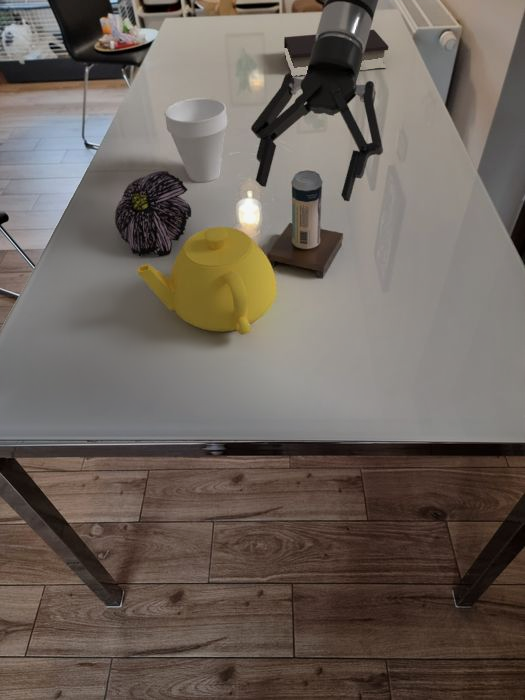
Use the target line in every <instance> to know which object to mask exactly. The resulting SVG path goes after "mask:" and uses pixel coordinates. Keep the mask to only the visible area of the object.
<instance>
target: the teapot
mask: <svg viewBox="0 0 525 700" xmlns="http://www.w3.org/2000/svg"><path fill="white" fill-rule="evenodd" d="M273 268H274V267H272V266H271V264H270V262H269V260H268V257H267V254H265V253H264V251H263V250H262V248H261V247H260V246H259V245H258V244H257V243H256V242H255V240H253V239H252V238H251V237H250V236H249V235H248V234H247V233H245V232H244V231H242V230H240V229H237V228H234V227H228V226H214V227H209V228H205V229H203V230H200V231H198V232H196V233H194V234H193V235H191V236H190V237H189V238H187V240H186V241H185V242H184V244H183V245H182V246H181V248H180V250H179V252H178V254H177V256H176V258H175V260H174V263H173V265H172V268H171V272H170V275H169V277H168V276H166V275H165V274H163V273H162V272H161V271H159V270H158V269H156V267H153V266H152V265H151V263H147V264H146V263H145V264H143V265H138V266H136V270H137V274H138V276H139V277H140V278H141V279H142V280H143V281H144V282H145V284H146V285H147V286H148V287H149V288H150V289H151V291H152V292H153V293H154V294H155V295H156V296H157V297H158V299H159V300H160V301H161V302H162V303H163V304H164V305H165V306H166V308H167V309H168V310H169V311H174V312H175V313H176V314H177V316H178V317H180V318H181V320H183V321H184V322H186V323H187V324H189V325H191V326H194V327H196V328H198V329H201V330H205V331H208V332H209V331H210V332H216V333H217V332H221V333H222V332H233V331H236V332H237V334H239V335H247V334H249V333H250V332H251V331H252V326H251V324H253V323H255V322H256V321H258V320H259V319H261V318H262V317H263V316H264V315H265V314H267V313H268V311H269V310H270V309H271V308H272V307H273V304H274V302H275V299H276V298H277V295H278V294H277V293H278V286H277V285H278V284H277V279H276V275H275V271H274V269H273Z"/></svg>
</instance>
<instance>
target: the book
mask: <svg viewBox="0 0 525 700" xmlns="http://www.w3.org/2000/svg"><path fill="white" fill-rule="evenodd" d="M315 38H316V34H307V35H306V34H305V35H293V36H284V39H283V46H284V47H283V49H284V48H287V49H288V52H289V55H290V58H291V61H292V63H293V66H294V68H297V67H306V66H308V65H309V61H310V57H311V53H312V49H313V45H314V43H315V42H316V40H315ZM385 51H389V45H388V44H387V42H386V41H385V40H384V39H383V38H382V37H381V36H380V35H379V34H378V33H377V31H376V30H375V29H370V32H369V36H368V40H367V43H366V47H365V50H364V53H363V59H362V61H364V60H372V59H378V58H383V57H384V58H385Z"/></svg>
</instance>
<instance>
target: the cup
mask: <svg viewBox="0 0 525 700" xmlns="http://www.w3.org/2000/svg"><path fill="white" fill-rule="evenodd" d="M164 116H165V117H164V118H165V124H166V129H167V132H168V133H170V135H171V137H172V140H173V142H174V145H175V147H176V149H177V152H178V154H179V157H180V159H181V161H182V164H183V167H184V168H185V171H186V173H187V175H188V179H190V180H191V181H193V182H197V183H208V182H212V181H215V180H216V179H218V178H219V177H220V175H221V171H222V170H221V168H222V161H223V160H222V159H223V154H224V153H223V152H224V145H225V144H224V143H225V134H226V127H227V126H228V116H227V107H226V104H225V103H224V102H222V101H220V100H218V99H215V98H208V97H194V98H187V99H182V100H180V101H177V102H174V103H172V104H170V105H169V106H168V107H167V108H166V109H165V110H164Z"/></svg>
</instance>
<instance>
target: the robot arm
mask: <svg viewBox="0 0 525 700" xmlns="http://www.w3.org/2000/svg"><path fill="white" fill-rule="evenodd" d="M378 2H379V0H324V4H323V9H322V12H321V15H320V19H319V22H318V27H317V30H316V34H315V35H316V38H315V40H316V42H315V43H314V45H313V49H312V53H311V57H310V61H309V65H308V70H307V74H306V76H303V78H302V79H301V78H297V77H293V76H292V75H291V72H288V73H286V74H285V75H284V77H283V80H282V82H281V85H280V87H279V88H278V90H277V91H276V92H275V95H273V97H272V98H271V99H270V101H269V102H268V103H267V105H266V106H265V108H264V109H263V110H262V111H261V113H260V114H259V116H257V118H256V120H254V122H253V123H252V125H251V127H250V130H251V131H252V133H253V134H254V135H255V137H257V139H259V144H258V148H257V153H256V160H257V161H258V162H259V164H258V165H259V166H258V170H257V173H256V177H255V182H257V183H258V184H259V186H260V187H264V188H265V187H267V183H268V179H269V176H270V172H271V168H272V165H273V160H274V156H275V152H276V149H277V144H276V143H275V140H277V139H278V138H279V137H281V135H283V134H284V133H285V132H286V131H287V130H288V129H290V128H291V127H292V126H293V125H294V124H296V122H298V121H299V120H300V119H301V118H302V117H305V116H307V115H309V114H310V113H311V112H313V114H317V115H322V114H325V115H328V116H333V117H334V116H335V115H337V114H338V113H340V115H341V118H342V119H343V121H344V123H345V125H346V127H347V129H348V131H349V133H350V135H351V138H352V139H353V141H354V143H355V145H356V147H357V149H358V150H356V149H355V150H352V153H351V156H350V161H349V163H348V164H349V165H348V169H347V173H346V176H345V179H344V183H343V187H342V191H341V197H342V199H343V201H344V202H350V200H351V196H352V193H353V189H354V186H355V182H356V179H362V178H363V176H364V174H365V170H366V166H367V163H368V159H369V158H370V157H371V156H374V155H376V156H380V155H382V154H383V153H384V147H383V142H382V137H381V133H380V128H379V123H378V119H377V113H376V109H375V100H376V95H377V94H376V89H375V84H374V81H372V80H369V81H366V83H365V84H357V81H358V78H359V73H360V71H359V70H360V67H361V63H362V59H363V53H364V50H365V47H366V43H367V40H368V36H369V32H370V30H372V25H373V22H374V16H375V14H376V9H377V6H378ZM300 90H301V91H302V93H301V94H300V95H299V96H297V97H296V99H295V100H294V102H293V103H292V104H290V106H289V107H287V106H288V104H289V103H290V101H291V99H292V98H293V96H294V95H297V92H298V91H300ZM356 96H358V97H359V100H360V102H361V103H363V105H364V109H365V115H366V119H367V124H368V129H369V133H370V138H371V142H370V143H368V142H367V140H366V139H365V137H364V135H363V133H362V131H361V129H360V127H359V125H358V123H357V122H356V119H355V117H354V115H353V114H352V111H351V110H350V107H349V106H348V104H349V103H351V102H352V100H353V99H355V98H356ZM286 107H287V108H286ZM285 108H286V109H285ZM284 109H285V110H284ZM283 110H284V111H283Z"/></svg>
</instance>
